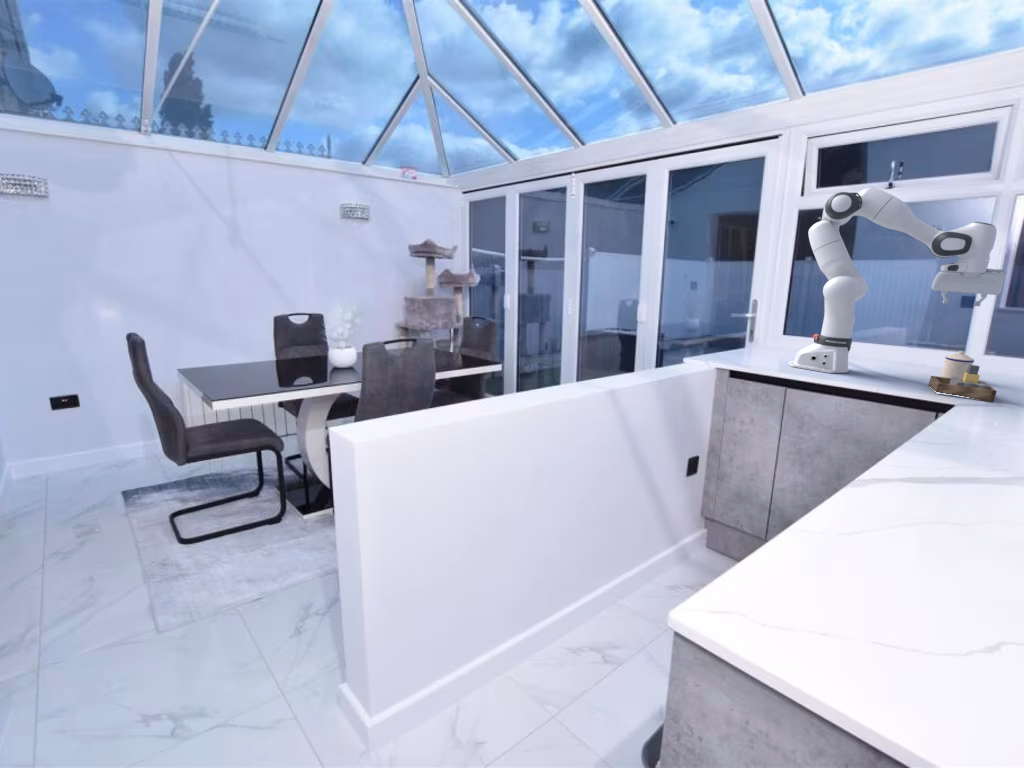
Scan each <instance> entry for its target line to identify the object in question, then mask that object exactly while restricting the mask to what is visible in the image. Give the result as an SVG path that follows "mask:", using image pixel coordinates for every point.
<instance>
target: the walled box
mask: <svg viewBox="0 0 1024 768" xmlns="http://www.w3.org/2000/svg"><path fill="white" fill-rule="evenodd" d="M962 379H963V378H957V377H951V378H945V377H941V376H935V375H931V376H930V379H929V382H928V385H929V386H930V387H931V388H932V389H933V390H934V391H936V392H940V393H946V394H952V395H959V396H964V397H969V398H974V399H979V400H978V401H981V400H983V401H982V402H989V403H994V402H995V398H996V395H997V392H998V391H997V390H996V389H995V388H993V387H992V386H991V385H989V384H988V383H987V382H986V381H984V380H980V379H979V380H978V383H970V382H963V381H962ZM929 386H928V387H929ZM930 387H929V388H930ZM931 388H930V389H931ZM932 389H931V390H932ZM933 390H932V391H933ZM934 391H933V392H934ZM974 399H973V400H974Z"/></svg>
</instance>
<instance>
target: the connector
mask: <svg viewBox="0 0 1024 768" xmlns="http://www.w3.org/2000/svg"><path fill="white" fill-rule="evenodd" d="M980 367H981V366H979V365H976V364H973V365H969V367H968V371H967V372H964V375H963V379H962V381H963V382H970V383H978V380H980V378H981V375H980V374H979V370H980Z"/></svg>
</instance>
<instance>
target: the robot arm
mask: <svg viewBox="0 0 1024 768" xmlns="http://www.w3.org/2000/svg"><path fill="white" fill-rule="evenodd" d="M856 216H857V217H859V216H860V217H863V218H865V219H867V220H869V221H870V222H872V223H874V224H876V225H878V226H880V227H883V228H887V229H889V230H894V231H897V232H901V233H904V234H907V235H908V236H910V237H912V238H914V239H915V240H918V241H919V242H920V243H922V244H924V245H925V246H926V247H927V249H928V250H929V252H930V253H931V254H932V256H934V257H936V258H939V259H949V258H952V257H955V256H957V257H958V259H957V262H952V263H948V264H943V265H941V266H940V271H938V273H937V274H936V275H934V276H935V277H934V278H933V280H932V283H931V286H930V287H931V289H932V291H938V292H941V297H942V299H943V300H942V304H946V305H947V304H949V302H950V298H947V296H946V295H947V294H948V292H951V293H966V294H979V295H980V298H979V299H978V300H975V301H974V304H973V306H974V307H981V304H982V302H983V301H984V300H986V298H987V297H988V295H990V296H991V295H992V296H998V295H1000V294H1001V293H1002V290H1003V285H1004V283H1003V282H1004V281H1005V280H1006V277H1007V272H1006V270H1005V271H1004V270H1003V269H998V268H997V269H996V268H995V269H994V268H989V267H988V266H989V263H990V261H991V260H990V259H991V258H990V256H991V252H992V251H993V249H994V247H995V242H996V238H997V227H996V226H995V225H993V224H991V223H989V222H988V223H987V222H982V221H981V222H980V221H974V222H973V221H972V222H970V223H969V224H966V225H964V226H961V227H958V228H955V229H951V230H946V231H944V230H940V229H937V228H935V227H934V226H932V225H930V224H928V223H926V222H924V221H923V220H921V219H920V218H918V217H917V216H916V215H915V214H914V213H913V210H912V209H911V207H910V206H909V205H908V204H907V203H906V202H904V201H903V200H902V199H900V198H899V197H897V196H894V195H893V194H891V193H889V192H887V191H885V190H881V189H878V188H875V187H866V188H864V189H861V190H860V191H859V192H848V191H840V192H836V193H835V194H833V195H831V196H830V197H829V198H828V199H827V200H826V202H825V204H824V207H823V210H822V215H821V220H820V221H817V222H815V223H814V224H812V226H810V228H809V229H808V233H807V234H808V240H809V244H810V247H811V250H812V253H813V255H814V257H815V260H816V263H817V265H818V268H819V270H820V271H821V272H822V273H823V275H824V276H825V277H826V279H827V280H828V281H826V283H824V286H823V288H822V289H823V290H822V294H823V298H824V300H823V301H824V306H823V307H824V313H823V314H824V316H823V321H822V327H821V332H820V334H818V333H815V334H813V343H810V344H808V345H807V346H804V347H802V348H800V349H799V350H798V351H797V353H796V355H795V358H794V359H790V360H788V365H789V366H790V367H793V368H798V369H802V370H803V369H804V370H810V371H816V372H821V373H829V374H835V373H838V374H839V373H843V374H844V373H849V370H850V369H849V354H850V351H851V348H852V344H853V338H852V337H853V331H854V327H855V324H856V316H855V303H856V302H858V301H860V300H861V299H863V298H864V297H865V296H866V294H867V293H868V290H869V286H868V283H867V281H866V280H865V279H864V278H863V276H862V274H861V273H860V271H859V269H858V267H857V266H856V265H855V263H854V261H853V260H852V258H851V256H850V253H849V252H848V249H847V247H846V245H845V242H844V240H843V238H842V235H841V234H840V229H841V228H843V227H844V226H846V225H847V224H848V223H849V222H850V220H851V219H852V217H856Z"/></svg>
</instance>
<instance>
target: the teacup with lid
mask: <svg viewBox="0 0 1024 768" xmlns="http://www.w3.org/2000/svg"><path fill="white" fill-rule="evenodd" d="M944 358H945V360H944V363H943V367H942V370H941V374H940V377H945V378H951V377H957V378H963V375H964V372H967V371H968V367H969V365H974V362H975V359H974V358H972V357H970V356H969V355H968V354H965V351H964V350H963V351H962V350H959V351H958V352H956V353H953V354H948V355H946V356H945V357H944Z"/></svg>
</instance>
